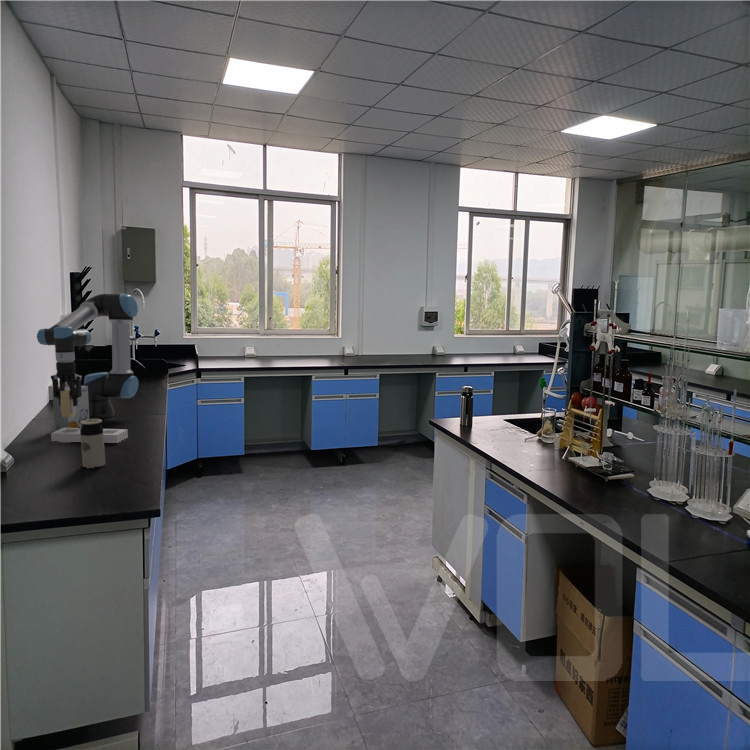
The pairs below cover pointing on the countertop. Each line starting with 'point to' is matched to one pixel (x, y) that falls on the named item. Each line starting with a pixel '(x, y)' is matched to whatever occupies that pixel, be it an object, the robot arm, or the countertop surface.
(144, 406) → the countertop surface
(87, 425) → the travel mug
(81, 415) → the hard drive box
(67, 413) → the wooden block
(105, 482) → the countertop surface
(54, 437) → the white compartment tray
